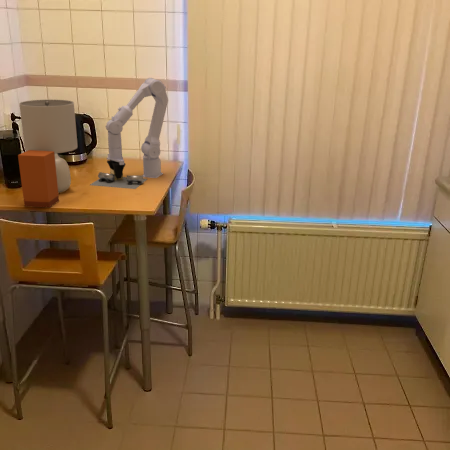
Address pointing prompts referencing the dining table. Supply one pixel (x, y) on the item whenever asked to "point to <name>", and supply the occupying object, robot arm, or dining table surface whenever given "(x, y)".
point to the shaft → (106, 177)
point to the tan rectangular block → (115, 174)
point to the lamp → (50, 132)
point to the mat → (117, 183)
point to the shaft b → (134, 179)
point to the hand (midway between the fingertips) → (116, 176)
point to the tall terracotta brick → (38, 178)
